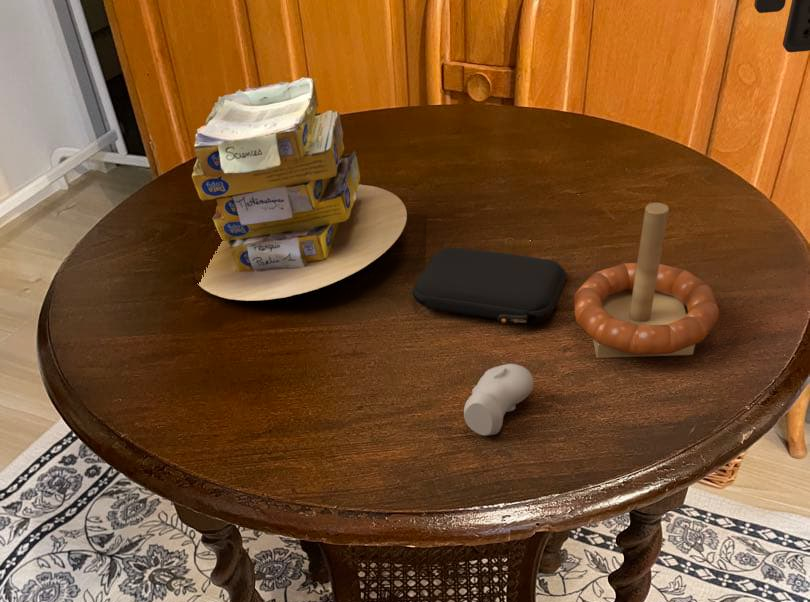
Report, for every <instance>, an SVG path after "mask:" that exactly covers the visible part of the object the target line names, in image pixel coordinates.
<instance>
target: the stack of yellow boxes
mask: <svg viewBox="0 0 810 602" xmlns="http://www.w3.org/2000/svg"><path fill="white" fill-rule="evenodd" d="M315 82H317V79H315V81H314V80H313V78H310V77H301V78H300V79H298V80H293V81H292V82H289V81H280V82H278V83H274V84H268V85H261V86H258V87H249V85H248V84H246V88H245V91H243V90H241V88H240V89H238V90H236V92H235V93H234V92H233V93H230V94H225V95H223V96H221V95H220V96H218V99H217V102H215V103H214V106H212V107H211V109H212V110H211V112H210V113H209V114H208V116H207V118H206V120H205V123H202V126H200V127H199V128H197V129H196V134H195V135H194V136H195V142H194V145H193V148H194V152H195V155H196V161H195V163H194V166H193V171H192V174H191V179H192V182H193V184H194V188H195V189H196V192H197V195H198V197H199V199H200V200H201V201H202V202H203V201H204V202H205V201H212V200H215V202H216V203H217V206H216V208H215V213H214V214H213V216H212V221H213V224H214V227H215V229H216V230H217V231H218V233H219V235H220V237H221V239H222V240H223V241H222V242H221V244H220V246H218V249H217V251H215V254H214V255H213V258H212V260H211V259H210V263H209V265H208V268H207V267H206V273H205V270H204V277H203V275H202V279H201V282H199V284H198V286H199V287H200V288H201V289H203V290H204V291H206V292H207V293H209V294H211V295H214V296H217V297H220V298H223V299H227V300H235V301H246V302H248V301H250V302H251V301H268V300H269V301H270V300H276V299H283V298H288V297H292V296H296V295H301V294H305V293H308V292H312V291H315V290H319V289H321V288H324V287H327V286H329V285H332V284H334V283H336V282H338V281H341V280H343V279H345V278H348V277H349V276H351V275H353V274H355V273H357V272H359V271H361V270H363V269H364V268H366V267H367V266H368V265H370V264H371V263H373V262H374V261H376V260H377V259H379V258H380V257H381V256H382V255H383V254H385V253H386V252H387V250H389V249H390V248H391V247H392V246H393V245H394V244H395V242H396V241H397V240H398V239H399V238H400V236H401V234H402V233H403V231H404V228H405V227H406V224H407V220H408V213H407V208H406V205H405V203H404V202H403V201H402V200H401V198H400V197H399V196H397V195H396V194H394V193H393V192H392V191H389V190H388V189H387V190H386V189H384V188H381V187H377V186H374V185H366V184H362V181H361V173H360V168H359V164H358V158H357V155H356V154H357V151H356V150H353V152H352V154H343V153H344V151H345V146H344V141H343V139H344V138H343V137H344V131H343V127H342V123H341V114H340V113H339V111H338V110H332V109H330V110H327V111H325V112H322V113H321V112H319V113H318V107H319V101H318V95H317V90H316V85H315ZM216 252H217V253H216Z"/></svg>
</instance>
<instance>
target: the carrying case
mask: <svg viewBox="0 0 810 602" xmlns="http://www.w3.org/2000/svg"><path fill="white" fill-rule="evenodd" d="M567 279H568V275H567V272H566V270H565V269H564V268H563V267H562V265H560V263H558V262H557V261H555V260H552V259H546V258H541V257H533V256H526V255H520V254H512V253H504V252H496V251H488V250H480V249H474V248H473V249H472V248H464V247H455V246H447V247H442V248H441V249H439V250H438V251H437V252H436V253H435V254H433V256H432V257H431V258H430V260H429V262H428V263H427V264H426V266H425V267H424V269H423V271H422V273H421V274H420V276H419V277H418V278H417V280H416V282H415V284H413V287H412V297H413V298H414V300H415V301H416V302H417V303H418V304H419V305H420V306H422V307H424V308H426V309H431V310H435V311H442V312H447V313H453V314H460V315H467V316H472V317H478V318H485V319H486V318H487V319H492V320H497V322H498V324H501V325H511V324H512V325H513V324H524V325H525V324H529V325H535V324H539V323H541V322H543V321H544V320H545V319H546V318H548V317H549V316H551V314H552V313H553V312H554V310H555V308H556V305H557V303H558V301H559V299H560V296H561V293H562V291H563V289H564V287H565V284H566V282H567Z"/></svg>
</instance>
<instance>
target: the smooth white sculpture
mask: <svg viewBox="0 0 810 602" xmlns="http://www.w3.org/2000/svg"><path fill="white" fill-rule="evenodd" d="M533 388H534V378H533V375H532V373H531V372H530V371H529V370H528V368H526V367H524V366H523V365H520V364H517V363H506V364H501V365H498V366H494V367H492V368H489V369H487V370H486V371H485V372H484V373H483V375H482V376H481V377H480V379H478V382H477V383H476V385H475V386H474V387H473V388H472V390H471V395H470V396H469V397H468V399H467V400H466V401H465V404H464V408H463V415H464V416H463V417H464V422H465V424H466V425H467V426H468V428H469V429H470V430H472V431H473V432H474V433H476V434H478V435H480V436H495V435H496V434H498V433H499V432H500V431H501V430H502V426H503V423H504V416H505V415H506V413H508V412H512V411H515V410H516V407H517V406H516V405H518V404H519V403H521V402H523V401H524V400H525V399H527V398H528V397H529V395H530V394H531V393H532V391H533Z"/></svg>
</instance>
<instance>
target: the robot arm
mask: <svg viewBox="0 0 810 602" xmlns="http://www.w3.org/2000/svg"><path fill="white" fill-rule="evenodd" d="M786 1H787V0H754V4H753V7H754V9H755V11H756V12H757V13H759V14H767V13H775V12H776V13H778V12H780V11H782V10H783V9H784V8H785V6H786ZM782 47H783V48H784V49H785V51H786V52H787V53H800V52H810V0H791V3H790V8H789V13H788V17H787V22H786V26H785V31H784V36H783V40H782Z"/></svg>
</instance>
